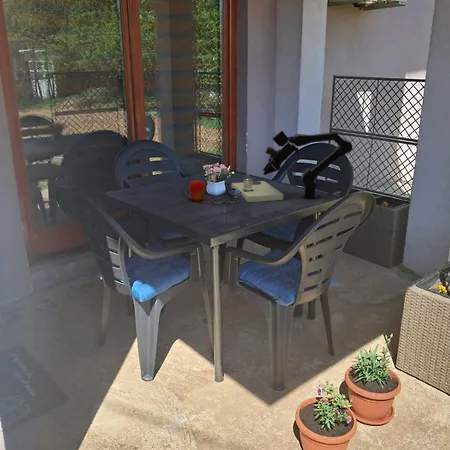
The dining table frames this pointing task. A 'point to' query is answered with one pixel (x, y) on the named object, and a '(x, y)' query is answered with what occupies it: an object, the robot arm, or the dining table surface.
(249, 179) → the grey upright piece
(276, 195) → the block
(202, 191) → the red cylinder
